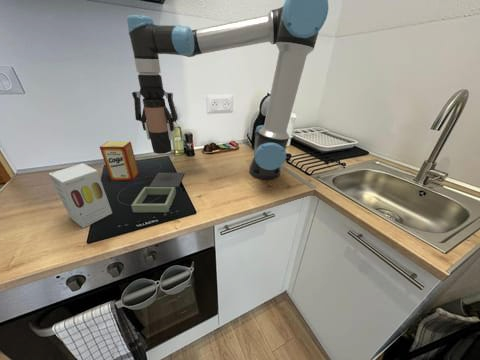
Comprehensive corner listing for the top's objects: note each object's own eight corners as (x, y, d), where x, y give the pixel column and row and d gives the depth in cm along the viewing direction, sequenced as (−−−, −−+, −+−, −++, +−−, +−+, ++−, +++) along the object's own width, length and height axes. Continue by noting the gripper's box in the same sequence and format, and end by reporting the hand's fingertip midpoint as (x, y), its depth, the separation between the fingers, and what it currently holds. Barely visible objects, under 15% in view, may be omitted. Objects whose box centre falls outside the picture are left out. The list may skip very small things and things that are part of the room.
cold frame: (176, 193, 80) (175, 186, 78) (168, 212, 70) (166, 205, 68) (145, 193, 79) (144, 186, 78) (133, 212, 69) (131, 205, 67)
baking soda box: (111, 180, 87) (99, 145, 79) (117, 173, 93) (107, 140, 85) (133, 180, 88) (123, 146, 80) (138, 173, 93) (130, 140, 85)
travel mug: (166, 155, 78) (157, 101, 68) (148, 153, 79) (137, 99, 69) (175, 148, 84) (168, 98, 74) (159, 146, 86) (150, 96, 76)
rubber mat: (184, 173, 94) (184, 172, 94) (178, 187, 84) (178, 186, 84) (158, 173, 94) (158, 172, 93) (149, 187, 83) (149, 186, 83)
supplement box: (82, 229, 61) (59, 182, 53) (69, 218, 65) (45, 173, 57) (113, 212, 68) (97, 169, 60) (99, 203, 73) (82, 162, 64)
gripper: (182, 74, 71) (188, 136, 83) (123, 72, 70) (138, 135, 82) (177, 75, 65) (184, 142, 76) (112, 73, 64) (130, 141, 75)
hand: (160, 138), depth 79 cm, fingers closed on travel mug, 8 cm apart
